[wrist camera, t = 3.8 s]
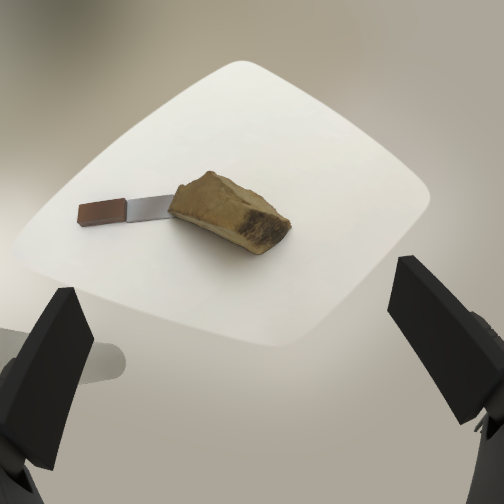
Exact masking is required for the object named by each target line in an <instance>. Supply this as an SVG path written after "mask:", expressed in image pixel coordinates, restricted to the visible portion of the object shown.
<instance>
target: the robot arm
mask: <svg viewBox="0 0 504 504" xmlns="http://www.w3.org/2000/svg"><path fill="white" fill-rule="evenodd" d="M387 311H388V312H389V314H390V315H391V317H392V318H393V320H394V321H395V323H396V324H397V325H398V327H399V328H400V330H401V331H402V333H403V334H404V336H405V337H406V339H407V340H408V342H409V343H410V345H411V346H412V348H413V349H414V351H415V352H416V354H417V355H418V357H419V358H420V360H421V362H422V363H423V364H424V366H425V368H426V369H427V371H428V372H429V374H430V376H431V377H432V378H433V380H434V382H435V384H436V385H437V387H438V388H439V390H440V392H441V393H442V395H443V397H444V398H445V400H446V402H447V403H448V405H449V407H450V408H451V410H452V412H453V413H454V415H455V417H456V418H457V420H458V422H459V424H460V425H462V424H464V423H466V422H468V421H470V420H472V419H474V418H476V417H477V415H478V414H479V413H480V411H481V410H482V409H483V407H484V408H485V409H486V411H487V413H486V414H485V416H484V417H483V418H482V420H481V421H480V422H479V423H478V425H477V426H476V428H475V430H474V432H477V430H478V429H479V428H480V427H481V426H482V425H483V427H482V430H481V431H480V433H482V434H481V441H480V446H479V451H478V457H477V461H476V466H475V471H474V475H473V479H472V483H471V487H470V491H469V494H468V498H467V502H466V504H504V341H503V340H502V339H501V337H500V336H498V334H497V333H496V332H495V331H494V329H491V326H490V325H489V324H488V323H487V322H486V321H485V320H484V319H483V318H482V317H481V316H479V315H477V314H476V313H474V312H469V311H468V310H467V309H466V308H465V307H464V306H463V305H462V303H461V302H459V300H458V299H457V298H456V297H455V296H454V295H453V294H452V293H451V292H450V291H449V290H448V289H447V288H446V287H445V286H444V285H443V284H442V283H441V282H440V281H439V280H438V279H437V278H436V277H435V276H434V275H433V274H432V273H431V272H430V271H429V270H428V269H427V268H426V267H425V266H424V265H423V264H422V263H421V262H420V261H419V260H418V259H416V257H415V256H413V255H411V256H403V257H398V263H397V268H396V273H395V278H394V282H393V287H392V292H391V297H390V301H389V305H388V309H387ZM93 342H94V337H93V335H92V332H91V330H90V328H89V325H88V323H87V321H86V318H85V316H84V313H83V311H82V309H81V306H80V303H79V301H78V298H77V295H76V293H75V290H74V287H67V288H58V290H57V291H56V292H55V294H54V295H53V297H52V299H51V300H50V302H49V303H48V305H47V306H46V308H45V310H44V311H43V313H42V315H41V316H40V318H39V319H38V321H37V323H36V324H35V326H34V327H33V329H32V331H31V333H30V334H29V336H28V338H27V339H26V341H25V343H24V345H23V346H22V348H21V350H20V352H19V354H18V355H17V357H16V358H12V359H11V360H10V361H9V363H8V364H7V365H6V366H5V367H4V368H3V370H2V372H1V374H0V504H44V502H43V500H42V498H41V496H40V494H39V492H38V490H37V488H36V486H35V483H34V481H33V479H32V477H31V474H30V472H29V470H28V469H27V467H26V466H25V465H24V463H25V459H28V460H29V461H30V462H31V463H32V464H33V465H34V466H36V467H40V468H43V469H47V470H51V471H53V469H54V464H55V460H56V456H57V452H58V449H59V445H60V441H61V438H62V434H63V430H64V427H65V423H66V420H67V417H68V413H69V410H70V407H71V404H72V401H73V398H74V394H75V392H76V388H77V385H78V383H79V380H80V377H81V374H82V371H83V368H84V366H85V363H86V360H87V357H88V355H89V352H90V349H91V347H92V344H93Z"/></svg>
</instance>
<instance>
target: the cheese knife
mask: <svg viewBox="0 0 504 504" xmlns="http://www.w3.org/2000/svg"><path fill="white" fill-rule="evenodd" d="M173 198H174V195H164V196H156V197H148V198H140V199H132V200H127V201H126V199H125V198H120V199H113V200H107V201H100V202H93V203H87V204H81V205H79V210H78V219H77V223H78V224H79V225H80V226H82V227H84V226H92V225H99V224H107V223H115V222H123V221H126V222H127V223H131V222H139V221H148V220H157V219H166V218H174V215H172V214H170V213H168V212H167V210H168V208H169V206H170V204H171V202H172V200H173Z"/></svg>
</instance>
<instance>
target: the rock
mask: <svg viewBox="0 0 504 504" xmlns="http://www.w3.org/2000/svg"><path fill="white" fill-rule="evenodd" d="M167 212H168V213H170V214H172V215H174V216H176V217H178V218H181V219H184V220H186V221H190V222H192V223H194V224H196V225H198V226H200V227H203V228H206V229H208V230H210V231H212V232H215V233H216V234H217V235H219V236H220V237H223V238H225V239H228V240H229V241H231V242H232V243H235V244H238V245H240V246H243V247H245V248H246V249H247V250H249V251H250V252H253V253H255V254H262V253H264V252H265V251H267V250H269V249H270V248H272V247H273V246H274V245H276V244H277V243H279V242H280V241H281V240H282V239H283V238H284V236H285V235H286V233H287V231H288V230H289V229H290V228H291V227H292V226H291V225H290V224H291V223H290V221H289V220H288V219H286V218H284V217H283V216H281V215H280V214H278V213H277V211H276V209H274V208H273V206H272V205H270V204H269V203H268V202H266V201H265V200H264V198H263V197H262V196H260V195H258V194H256V193H254V192H253V191H251V190H246V189H244V188H242V187H240V186H238V185H236V184H235V183H234V182H232V181H231V180H230V179H228V178H225V177H223V176H219V175H217V174H216V173H215V172H213V171H207V172H206V173H205V175H203V176H202V177H201V178H199V179H197V180H194V181H192V182H191V183H189V184H187V185H186V186H184V185H183V184H182V185H180V186H179V187H178V189H177V191H176V193H175V195H174V198H173V200H172V202H171V204H170V206H169V208H168V210H167Z"/></svg>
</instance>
